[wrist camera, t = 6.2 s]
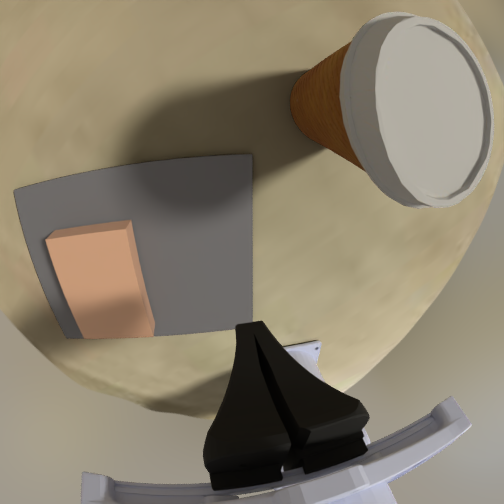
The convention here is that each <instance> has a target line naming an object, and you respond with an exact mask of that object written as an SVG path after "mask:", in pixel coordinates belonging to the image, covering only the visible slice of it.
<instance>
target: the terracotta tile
mask: <svg viewBox="0 0 504 504" xmlns="http://www.w3.org/2000/svg"><path fill="white" fill-rule="evenodd" d="M46 244H47V247H48V250H49V253H50V257H51V260H52V263H53V266H54V269H55V271H56V274H57V277H58V280H59V282H60V285H61V288H62V290H63V293H64V295H65V298H66V300H67V302H68V305H69V307H70V309H71V312H72V314H73V316H74V318H75V320H76V323H77V325H78V327H79V329H80V331H81V333H82V335H83V337H84V339H107V338H138V337H154V328H155V321H154V317H153V314H152V310H151V307H150V303H149V299H148V295H147V292H146V288H145V283H144V279H143V275H142V271H141V266H140V262H139V257H138V253H137V248H136V243H135V237H134V232H133V227H132V221H131V220H124V221H116V222H108V223H101V224H93V225H86V226H79V227H73V228H66V229H60V230H55V231H54V232H53V233H52V234H51V235H50V236H49V237H48V238H47V239H46Z"/></svg>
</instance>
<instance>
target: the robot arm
mask: <svg viewBox="0 0 504 504" xmlns="http://www.w3.org/2000/svg"><path fill="white" fill-rule="evenodd" d="M235 331H236V352H235V359H234V364H233V369H232V374H231V377H230V381H229V384H228V388H227V391H226V394H225V396H224V399H223V402H222V404H221V406H220V409H219V411H218V413H217V415H216V417H215V419H214V421H213V423H212V425H211V427H210V429H209V431H208V433H207V437H206V440H205V444H204V449H203V459H204V464H205V467H206V469H207V470H208V472H209V473H210V480H211V483H199V484H148V483H134V482H123V481H115V480H113V479H112V478H110V477H108V476H105V475H100V474H94V473H89V472H82V483H81V504H397V502H396V500H395V498H394V496H393V494H392V492H391V489H390V487H389V485H388V483H390V482H392V481H394V480H395V479H397V478H399V477H401V476H403V475H404V474H406V473H408V472H409V471H411V470H413V469H414V468H416V467H418V466H419V465H421V464H422V463H424V462H426V461H427V460H429V459H430V458H432V457H433V456H435V455H436V454H438V453H439V452H440V451H442V450H443V449H445V448H446V447H447V446H449V445H450V444H451V443H453V442H454V441H455V440H456V439H457V438H458V437H460V436H461V435H462V434H463V433H464V432H465V431H467V430H468V429H469V428H470V427H471V426H472V424H471V422H470V421H469V419H468V418H467V416H466V415H465V413H464V412H463V410H462V409H461V408H460V406H459V405H458V403H457V402H456V400H455V399H454V397H453V396H450V397H448V398H447V399H445V400H444V401H442V402H441V403H439V404H438V405H437V406H436V407H434V409H433V410H432V411H431V413H429V414H427V415H426V416H424V417H422V418H421V419H419V420H417V421H415V422H413V423H412V424H410V425H408V426H406V427H404V428H402V429H400V430H398V431H396V432H394V433H392V434H390V435H388V436H386V437H384V438H382V439H379V440H377V441H375V442H372V443H371V442H370V439H369V437H368V435H367V433H366V431H365V429H364V426H365V425H366V424H367V422H368V420H369V414H368V412H367V410H366V409H365V408H364V406H363V405H362V403H361V402H360V400H358V399H355V398H353V397H351V396H348V395H346V394H344V393H342V392H340V391H338V390H336V389H335V388H333V387H331V386H330V385H328V384H326V383H325V381H324V379H323V377H322V375H321V373H320V371H319V368H318V366H317V360H318V356H319V352H320V348H321V342H320V341H314V342H309V343H304V344H298V345H293V346H288V347H282V345H281V344H280V343H279V342H278V341H277V340H276V338H275V337H274V336H273V335H272V333H271V332H270V331H269V329H268V328H267V326H266V325H265V323H264V322H263V321H256V322H249V323H242V324H237V325H236V326H235ZM270 489H274V490H275V491H272V492H268V493H264V494H260V495H255V496H250V497H245V498H240V499H239V497H238V496H232V495H240V494H247V493H253V492H259V491H265V490H270Z"/></svg>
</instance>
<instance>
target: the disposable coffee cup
mask: <svg viewBox="0 0 504 504" xmlns="http://www.w3.org/2000/svg"><path fill="white" fill-rule="evenodd" d="M290 109H291V113H292V116H293V119H294V121H295V123H296V125H297V126H298V127H299V129H300V130H301V131H302V132H303V133H304V134H305V135H306V136H307V137H308V138H310V139H311V140H314V141H316V142H317V143H319V144H321V145H323V146H324V147H326V148H328V149H330V150H331V151H333V152H335V153H336V154H338V155H340V156H341V157H343V158H345V159H346V160H348V161H350V162H351V163H353V164H354V165H356V166H358V167H359V168H361V169H362V170H364V171H365V172H366V173H367V174H368V175H369V177H370V178H371V180H372V181H373V182H374V183H375V184H376V185H377V187H378V188H379V189H380V190H381V191H382V192H383V193H384V194H386V195H387V196H388V197H389V198H391V199H393V200H395V201H397V202H398V203H400V204H402V205H404V206H408V207H413V208H417V209H420V208H428V207H434V208H441V207H450V206H453V205H455V204H458V203H459V202H460V201H462V200H463V199H464V198H465V197H466V196H468V195H469V194H470V193H471V192H472V191H473V190H474V189H475V187H476V186H477V184H478V183H479V182H480V180H481V178H482V176H483V174H484V172H485V170H486V168H487V165H488V162H489V159H490V155H491V150H492V145H493V136H494V113H493V105H492V99H491V93H490V90H489V87H488V83H487V80H486V77H485V75H484V73H483V70H482V68H481V66H480V64H479V62H478V60H477V58H476V57H475V55H474V54H473V52H472V51H471V49H470V48H469V47H468V45H467V44H466V43H465V42H464V40H463V39H462V38H461V37H460V36H459V35H458V34H457V33H456V32H454V31H453V30H452V29H451V28H449V27H448V26H446V25H444V24H443V23H441V22H439V21H437V20H434V19H431V18H428V17H419V16H416V15H413V14H410V13H404V12H388V13H384V14H381V15H379V16H376V17H374V18H372V19H371V20H370V21H368V22H367V23H366V24H364V25H363V26H362V27H361V28H360V30H359V31H358V32H357V33H356V35H355V36H354V37H353V40H352V41H351V42H350V43H348V44H347V45H345V46H344V47H341V48H340V49H339V50H337V51H336V52H335V53H333V54H332V55H330V56H328V57H327V58H325V59H324V60H323V61H321V62H320V63H319V64H317V65H316V66H314V67H313V68H312V69H311V70H309V71H308V72H306V73H305V74H303V75H302V76H301V77H300V78H299V79H298V80H297V82H296V83H295V85H294V87H293V89H292V92H291V97H290Z"/></svg>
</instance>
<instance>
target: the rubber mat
mask: <svg viewBox="0 0 504 504" xmlns="http://www.w3.org/2000/svg"><path fill="white" fill-rule="evenodd" d="M14 195H15V200H16V205H17V209H18V213H19V217H20V221H21V225H22V229H23V232H24V236H25V239H26V243H27V246H28V249H29V252H30V255H31V258H32V261H33V264H34V267H35V269H36V272H37V275H38V277H39V280H40V282H41V285H42V287H43V290H44V292H45V295H46V297H47V299H48V302H49V304H50V306H51V308H52V310H53V312H54V315H55V317H56V319H57V321H58V323H59V325H60V327H61V329H62V331H63V333H64V335H65V336H66V338H84V337H83V335H82V333H81V331H80V329H79V327H78V325H77V323H76V320H75V318H74V316H73V314H72V312H71V309H70V307H69V305H68V302H67V300H66V298H65V295H64V293H63V290H62V288H61V285H60V282H59V280H58V277H57V274H56V271H55V269H54V266H53V263H52V260H51V257H50V253H49V250H48V247H47V244H46V239H47V238H48V237H49V236H50V235H51V234H52V233H53V232H54V231H55V230H60V229H66V228H73V227H79V226H86V225H93V224H101V223H108V222H116V221H124V220H131V221H132V227H133V232H134V237H135V243H136V248H137V253H138V257H139V262H140V266H141V271H142V275H143V279H144V283H145V288H146V292H147V295H148V299H149V303H150V307H151V310H152V314H153V317H154V321H155V328H154V336H169V335H182V334H194V333H204V332H214V331H223V330H232V329H235V326H236V325H237V324H242V323H249V322H253V241H252V154H235V155H215V156H200V157H188V158H177V159H168V160H159V161H150V162H143V163H136V164H129V165H122V166H116V167H110V168H104V169H99V170H93V171H88V172H83V173H78V174H73V175H69V176H64V177H60V178H56V179H52V180H48V181H44V182H40V183H36V184H32V185H29V186H25V187H22V188H18V189H15V190H14Z"/></svg>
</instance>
